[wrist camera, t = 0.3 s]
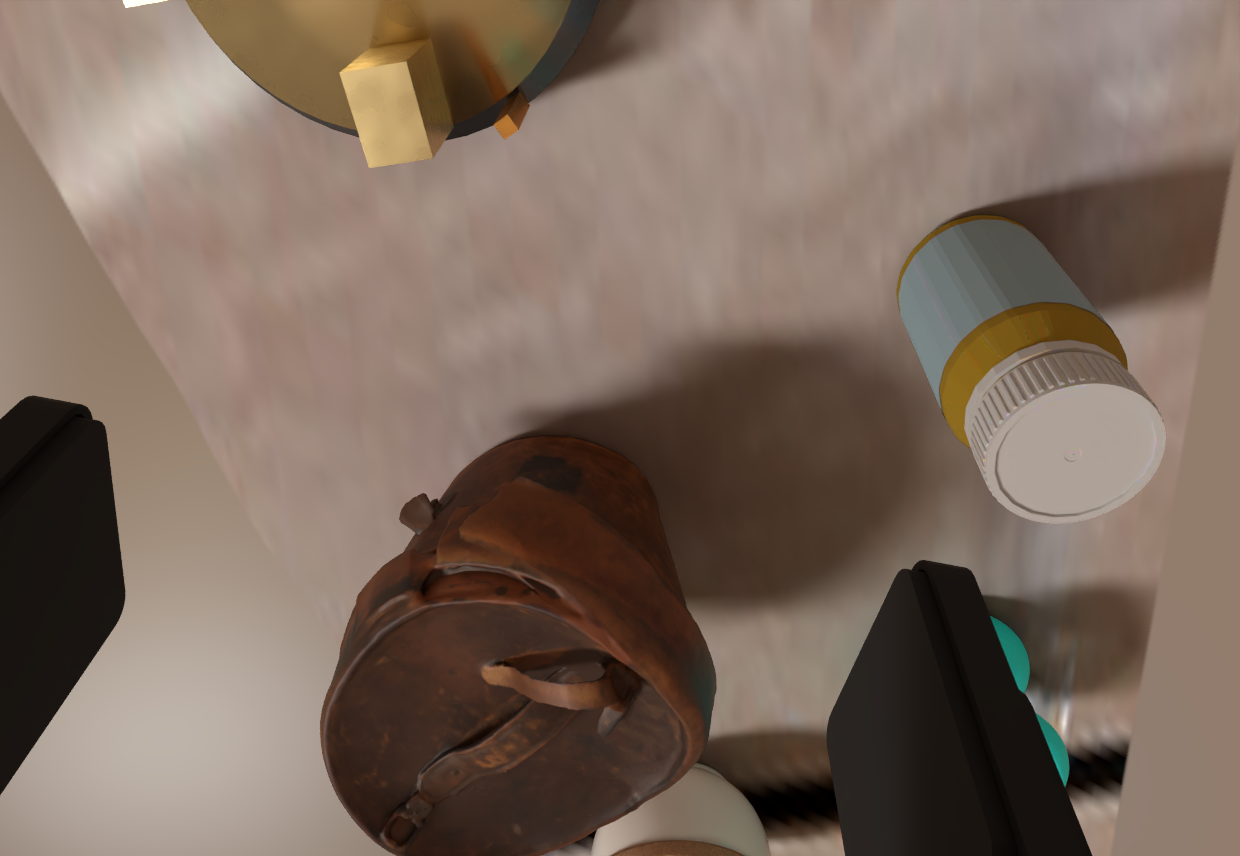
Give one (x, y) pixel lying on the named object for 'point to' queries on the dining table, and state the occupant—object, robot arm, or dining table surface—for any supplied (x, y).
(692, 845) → the lidded bowl
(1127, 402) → the bottle
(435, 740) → the brown chunky piece
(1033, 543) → the dining table surface
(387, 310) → the dining table surface
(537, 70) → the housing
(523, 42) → the gold crown turntable
